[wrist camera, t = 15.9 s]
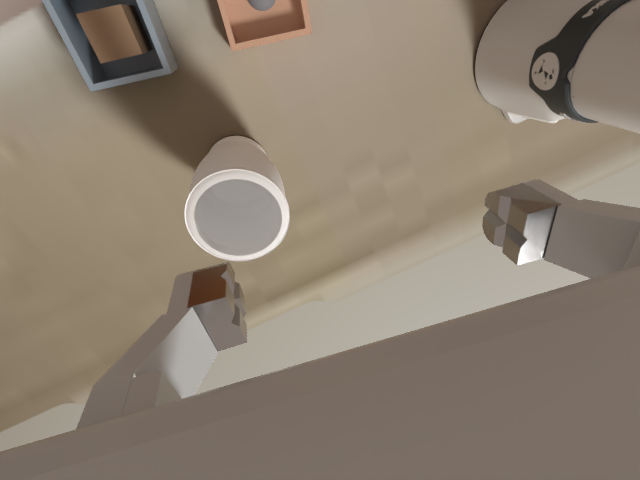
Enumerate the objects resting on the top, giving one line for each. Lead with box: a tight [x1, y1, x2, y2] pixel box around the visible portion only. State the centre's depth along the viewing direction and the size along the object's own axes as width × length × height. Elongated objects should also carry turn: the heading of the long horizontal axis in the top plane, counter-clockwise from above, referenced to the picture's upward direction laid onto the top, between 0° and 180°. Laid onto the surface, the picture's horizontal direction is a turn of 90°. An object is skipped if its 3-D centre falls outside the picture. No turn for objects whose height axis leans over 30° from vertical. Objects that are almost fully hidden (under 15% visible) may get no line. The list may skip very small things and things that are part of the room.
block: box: [76, 4, 153, 63], centre depth 33 cm, size 4×4×5 cm
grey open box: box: [42, 0, 179, 92], centre depth 34 cm, size 8×8×5 cm
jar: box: [185, 136, 290, 261], centre depth 40 cm, size 11×10×15 cm
